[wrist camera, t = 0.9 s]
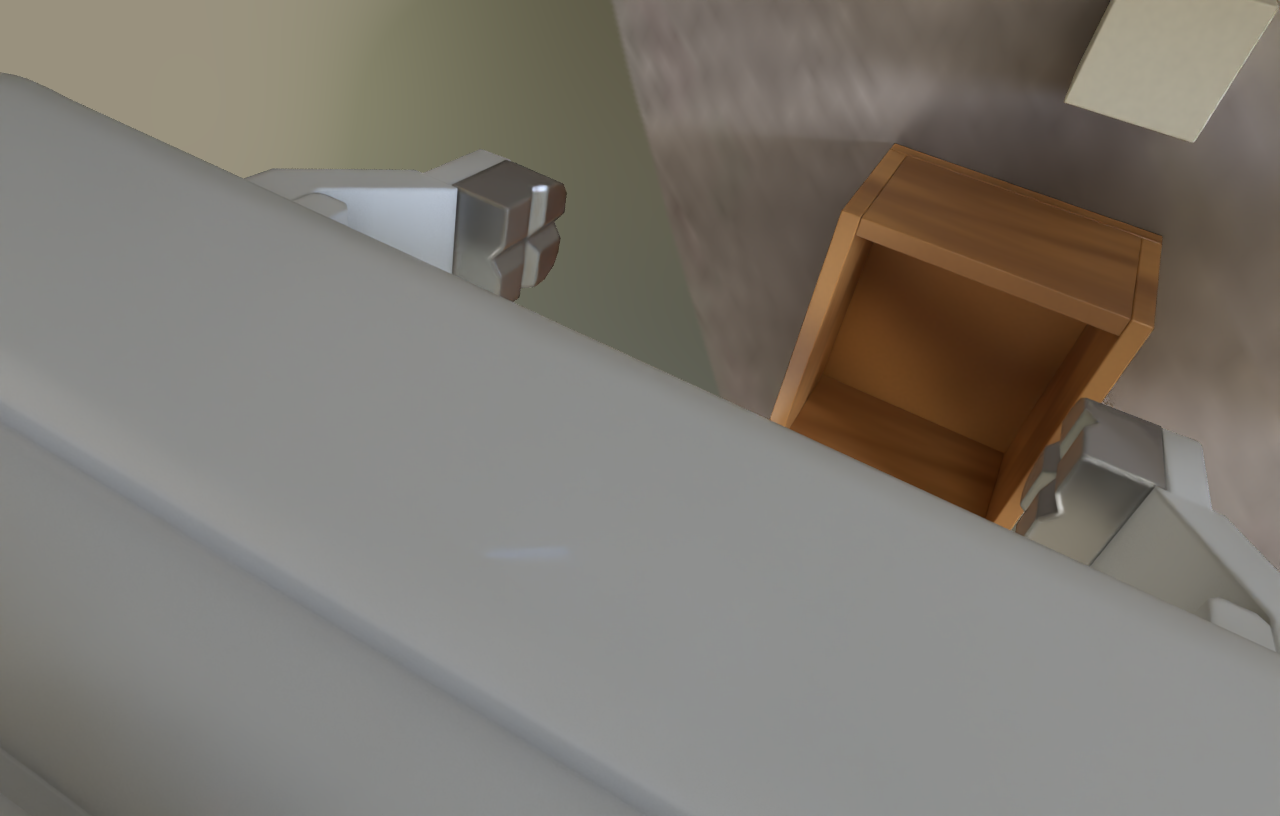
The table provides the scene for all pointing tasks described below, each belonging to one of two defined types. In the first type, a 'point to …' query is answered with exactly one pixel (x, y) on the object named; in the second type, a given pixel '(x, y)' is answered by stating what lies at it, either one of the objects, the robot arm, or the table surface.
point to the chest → (964, 328)
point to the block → (1167, 60)
